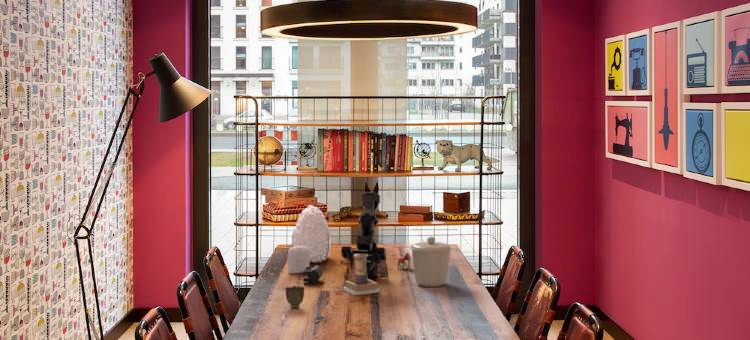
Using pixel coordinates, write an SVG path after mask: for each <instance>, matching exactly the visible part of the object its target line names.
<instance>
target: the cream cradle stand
mask: <svg viewBox="0 0 750 340" xmlns="http://www.w3.org/2000/svg"><path fill="white" fill-rule="evenodd" d="M369 279H370V278H368V284H359V285H357V284H355V282H352V281H349V280H345V281H344V286H343V292H345V293H348V294H350V295H353V296H358V295H367V294H377V293H380V292H381V291H380V288H379V283H378V282H376V281H374V280H372V279H370V280H369Z"/></svg>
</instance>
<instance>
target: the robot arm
mask: <svg viewBox="0 0 750 340" xmlns="http://www.w3.org/2000/svg"><path fill="white" fill-rule="evenodd" d="M361 204H362V206H363V207H362V208H363V211H362V212H361V214H360V216H359V218H358V225H359V226H360V235H356V239H355V244H356V249H354V248H352V246H351V245H350V246H348V245H343V246H342V247H341V248H340V251H341V254H342V258H343V259H347V261H349V263H350V269H351V270H353V268H354V264H355V257H354V254H358V253H365V254H368V257H366V267H367V274H368V279H370V278H379V275H378V265H379V264H381V261H385V260H387V252H386V251H387V250H386V248H385V247H378V245H377V243H376V242H375V229H376V226H377V225H378V224H379V219H378V217H377V216H376V213H377V211H378V210H379V205H380V204H381V195H380V194H378V193H376V192H370V191H366V192H364V194H361Z"/></svg>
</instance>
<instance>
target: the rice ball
mask: <svg viewBox="0 0 750 340" xmlns="http://www.w3.org/2000/svg"><path fill="white" fill-rule="evenodd" d="M331 238H332V237H331V230H330V229H329V225H328V221H327V220H326V216H325V214H323V211H321V210H320V208H318V206H314V205H312V204H309V205H308V206H307V208H305V209H303V210H302V212H301V213H299V216H298V219H297V220H296V223H295V227H294V228H293V230H292V235H291V248H292V247H295V246H305V247H308V248H309V263H322V262H324V261H326V260H327V259H328V257H329V255H330V254H331V253H330V252H331V241H332V240H331Z"/></svg>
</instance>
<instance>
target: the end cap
mask: <svg viewBox="0 0 750 340" xmlns="http://www.w3.org/2000/svg"><path fill="white" fill-rule="evenodd" d="M323 274H324V271H323V269H322V267H321V266H319V265H315V266H309V267H306V269H304V270H303V273H302V275H303V276H306V277H303V278H302V282H303V285H308V286H309V285H310V286H312V285H315V284H316V283H318V282H319V280H320V279H321V278H322V276H323Z"/></svg>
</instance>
